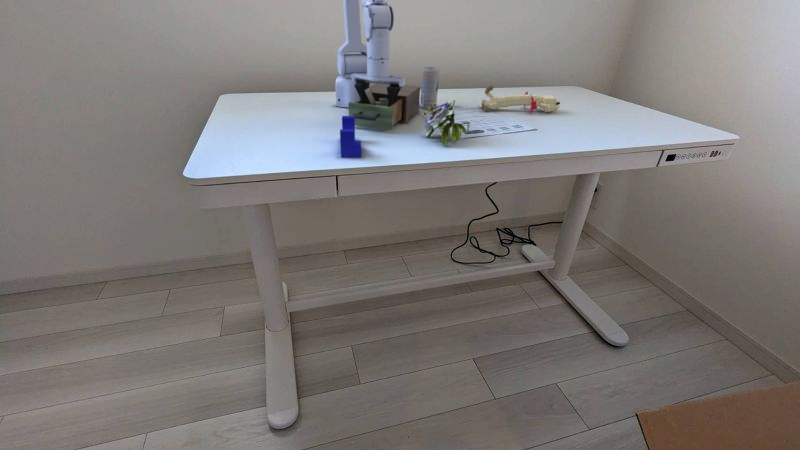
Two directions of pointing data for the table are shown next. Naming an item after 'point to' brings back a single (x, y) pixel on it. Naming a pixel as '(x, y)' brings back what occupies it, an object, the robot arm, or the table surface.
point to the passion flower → (440, 118)
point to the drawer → (376, 113)
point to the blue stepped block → (349, 138)
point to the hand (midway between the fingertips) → (377, 111)
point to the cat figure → (520, 101)
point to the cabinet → (406, 93)
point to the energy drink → (429, 86)
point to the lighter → (382, 100)
